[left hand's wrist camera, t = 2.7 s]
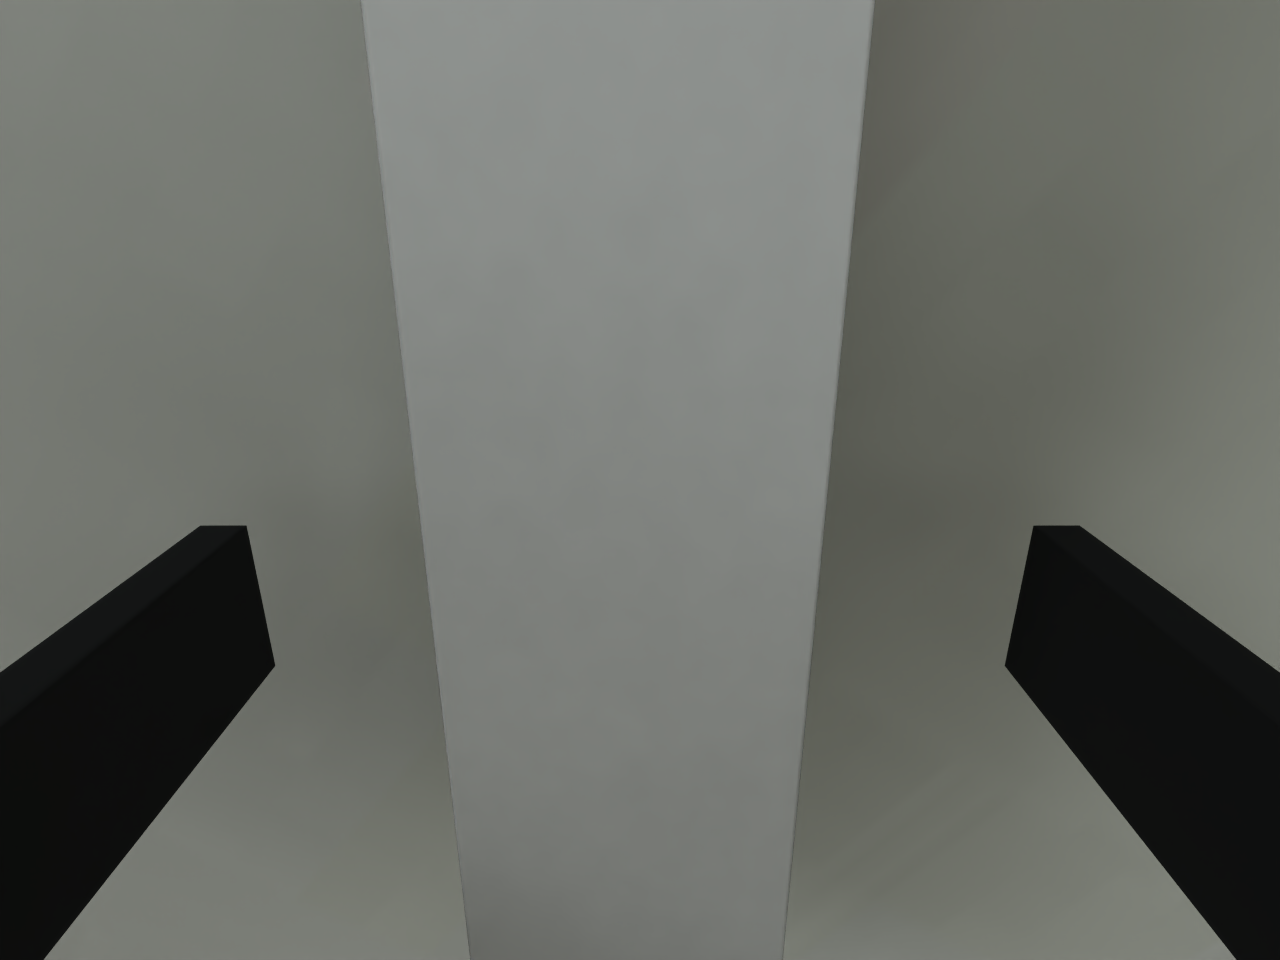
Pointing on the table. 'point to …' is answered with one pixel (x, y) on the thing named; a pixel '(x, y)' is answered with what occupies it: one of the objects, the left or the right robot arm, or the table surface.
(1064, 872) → the table surface
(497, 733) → the bar
